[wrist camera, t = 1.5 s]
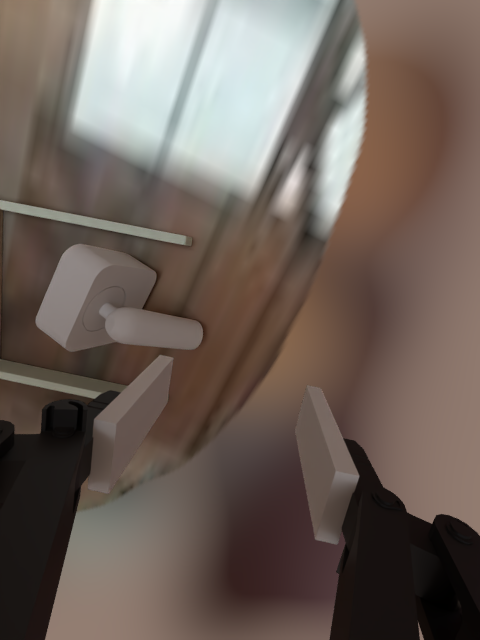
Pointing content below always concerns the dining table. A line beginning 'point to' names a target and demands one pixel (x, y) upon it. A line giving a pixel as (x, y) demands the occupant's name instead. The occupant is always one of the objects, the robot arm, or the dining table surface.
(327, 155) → the dining table surface
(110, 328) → the wall hook
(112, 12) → the dining table surface
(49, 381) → the keeper channel
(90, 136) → the dining table surface
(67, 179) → the dining table surface
